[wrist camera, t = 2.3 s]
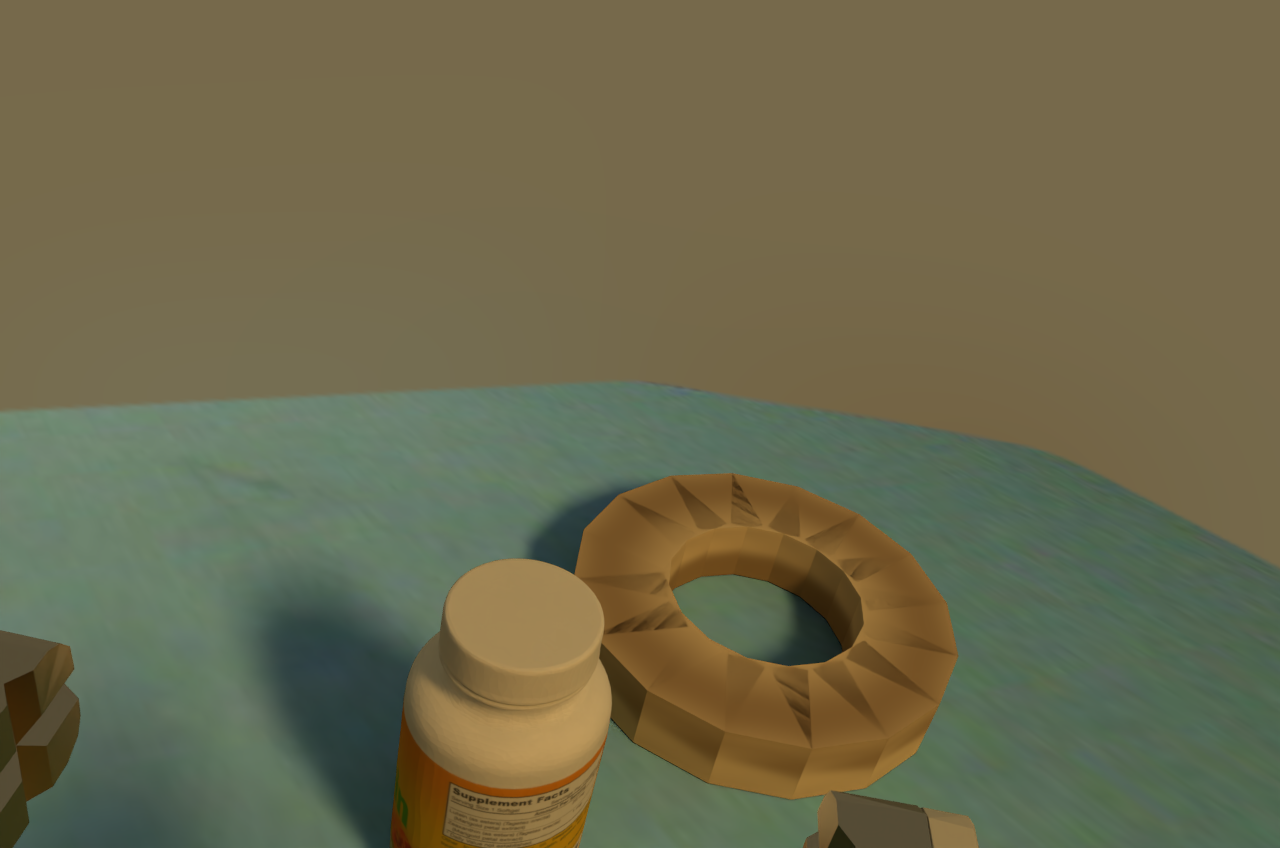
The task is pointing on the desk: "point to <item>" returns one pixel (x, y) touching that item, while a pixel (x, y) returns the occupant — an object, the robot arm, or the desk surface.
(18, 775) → the robot arm
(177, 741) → the desk surface
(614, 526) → the plain brown donut
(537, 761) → the supplement bottle
